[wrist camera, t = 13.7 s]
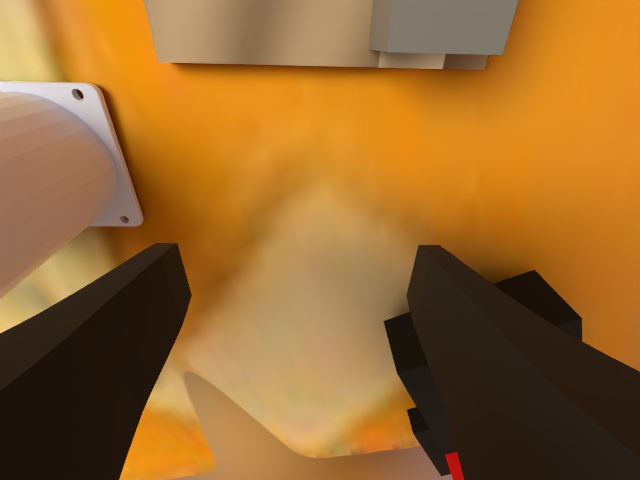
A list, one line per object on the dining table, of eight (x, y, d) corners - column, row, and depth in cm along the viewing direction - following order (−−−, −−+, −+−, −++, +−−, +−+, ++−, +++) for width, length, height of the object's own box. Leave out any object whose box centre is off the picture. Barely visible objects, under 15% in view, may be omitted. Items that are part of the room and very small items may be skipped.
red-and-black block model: (663, 337, 14) (628, 506, 27) (547, 240, 21) (562, 410, 34) (370, 416, 18) (461, 534, 30) (353, 309, 24) (433, 441, 37)
